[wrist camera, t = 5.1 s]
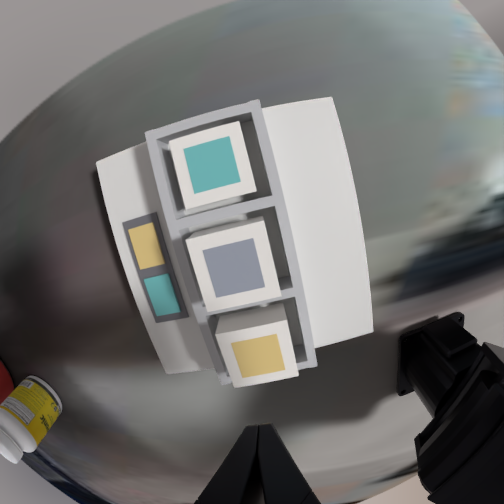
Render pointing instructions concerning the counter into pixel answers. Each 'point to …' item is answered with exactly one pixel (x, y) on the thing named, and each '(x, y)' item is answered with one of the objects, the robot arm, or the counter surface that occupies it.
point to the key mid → (234, 264)
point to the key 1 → (212, 165)
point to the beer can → (5, 383)
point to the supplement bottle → (27, 417)
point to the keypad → (237, 209)
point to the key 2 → (257, 346)
